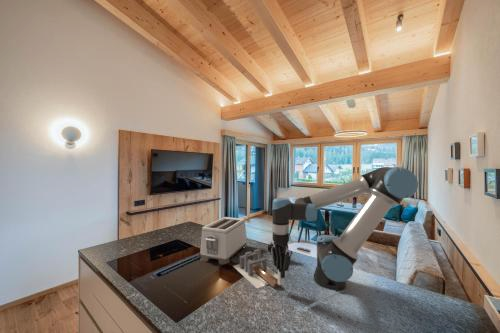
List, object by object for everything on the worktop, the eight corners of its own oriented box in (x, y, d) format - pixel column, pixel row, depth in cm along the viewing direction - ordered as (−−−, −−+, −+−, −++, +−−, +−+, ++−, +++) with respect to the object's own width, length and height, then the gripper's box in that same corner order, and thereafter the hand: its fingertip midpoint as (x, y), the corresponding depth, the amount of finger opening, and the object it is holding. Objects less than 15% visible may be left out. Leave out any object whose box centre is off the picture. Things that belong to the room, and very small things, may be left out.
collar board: (283, 280, 106) (282, 258, 106) (257, 290, 98) (256, 267, 98) (255, 260, 129) (255, 243, 129) (232, 267, 120) (232, 248, 120)
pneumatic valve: (287, 264, 124) (287, 244, 124) (268, 262, 126) (267, 242, 126) (287, 259, 129) (287, 240, 129) (269, 258, 131) (268, 239, 131)
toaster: (196, 262, 128) (196, 229, 128) (224, 243, 159) (224, 216, 159) (223, 268, 120) (223, 232, 120) (247, 246, 152) (247, 218, 152)
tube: (279, 285, 100) (278, 277, 100) (272, 288, 98) (271, 279, 98) (258, 269, 115) (258, 262, 115) (252, 272, 113) (251, 264, 113)
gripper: (297, 235, 91) (297, 288, 91) (278, 227, 102) (278, 274, 103) (283, 238, 87) (284, 293, 88) (265, 229, 98) (266, 279, 99)
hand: (281, 283), depth 95 cm, fingers closed
